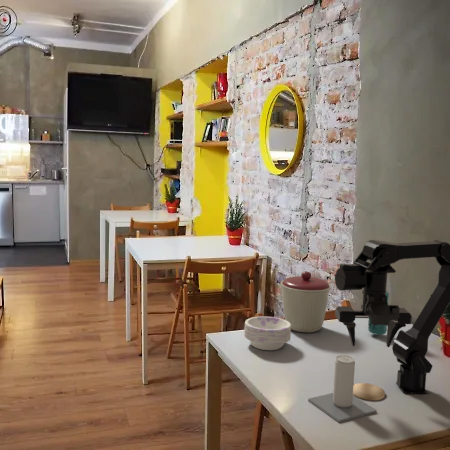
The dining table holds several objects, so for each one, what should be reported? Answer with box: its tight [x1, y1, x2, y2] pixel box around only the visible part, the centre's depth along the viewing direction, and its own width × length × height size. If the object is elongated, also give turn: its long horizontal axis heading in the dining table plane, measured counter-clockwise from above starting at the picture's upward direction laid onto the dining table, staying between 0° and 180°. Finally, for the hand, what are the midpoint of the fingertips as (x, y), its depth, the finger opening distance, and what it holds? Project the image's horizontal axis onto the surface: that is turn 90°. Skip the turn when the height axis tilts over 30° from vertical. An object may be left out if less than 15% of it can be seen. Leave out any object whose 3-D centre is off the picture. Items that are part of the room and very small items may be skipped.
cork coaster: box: [353, 382, 386, 402], centre depth 141 cm, size 9×9×1 cm
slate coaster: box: [307, 392, 378, 423], centre depth 133 cm, size 12×12×1 cm
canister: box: [280, 270, 332, 334], centre depth 190 cm, size 18×18×21 cm
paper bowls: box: [243, 315, 292, 351], centre depth 173 cm, size 15×15×8 cm
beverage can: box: [332, 354, 356, 408], centre depth 132 cm, size 5×5×12 cm
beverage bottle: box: [367, 290, 390, 335], centre depth 185 cm, size 6×7×20 cm
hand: (370, 346), depth 140 cm, fingers open, 9 cm apart
